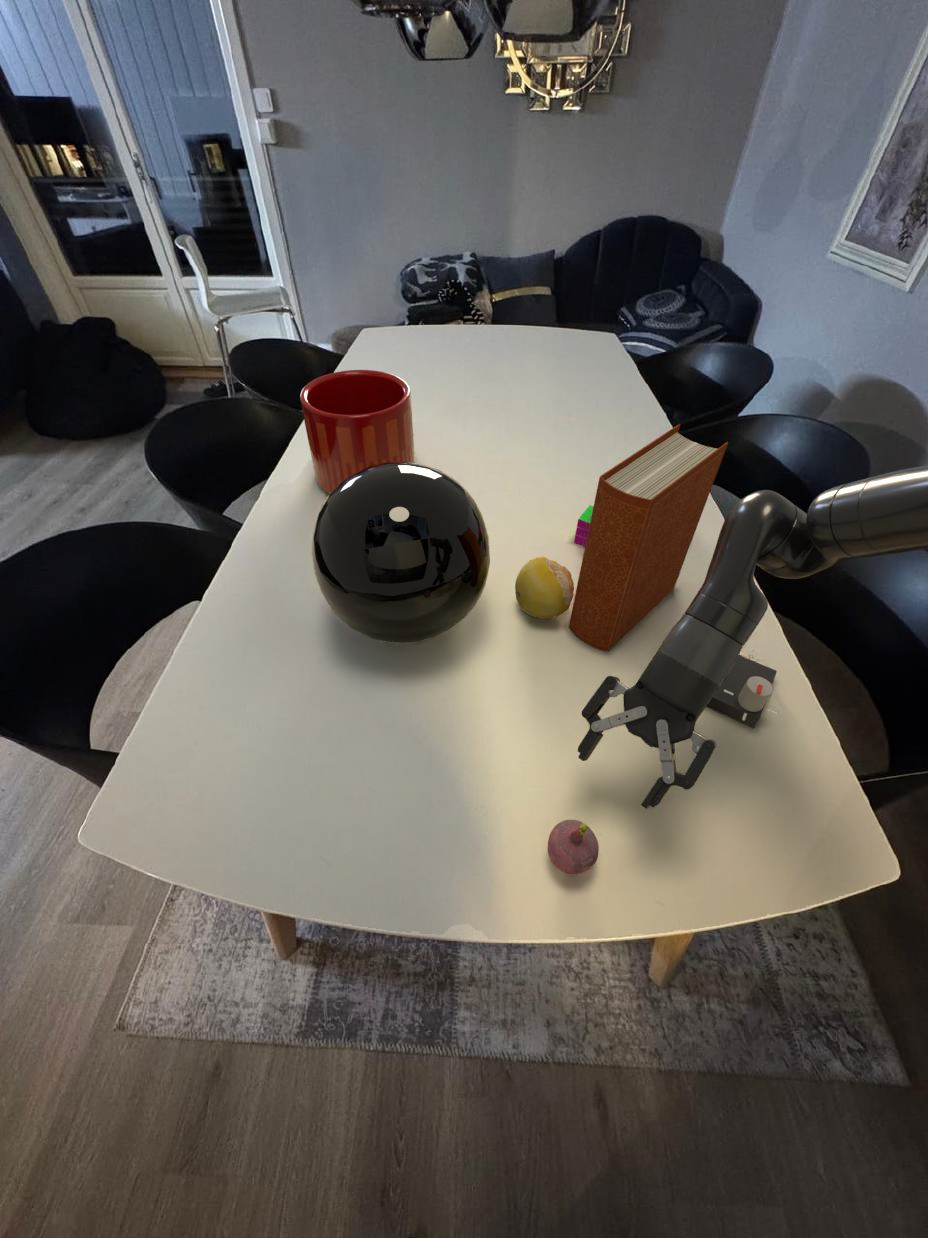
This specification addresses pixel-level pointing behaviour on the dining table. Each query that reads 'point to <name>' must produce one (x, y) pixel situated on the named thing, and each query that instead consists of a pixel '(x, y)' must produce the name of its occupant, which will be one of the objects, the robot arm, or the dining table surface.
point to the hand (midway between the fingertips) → (612, 782)
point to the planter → (356, 423)
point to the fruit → (544, 588)
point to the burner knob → (755, 694)
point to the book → (640, 535)
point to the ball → (400, 552)
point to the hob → (733, 685)
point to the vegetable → (573, 847)
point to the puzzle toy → (583, 526)
